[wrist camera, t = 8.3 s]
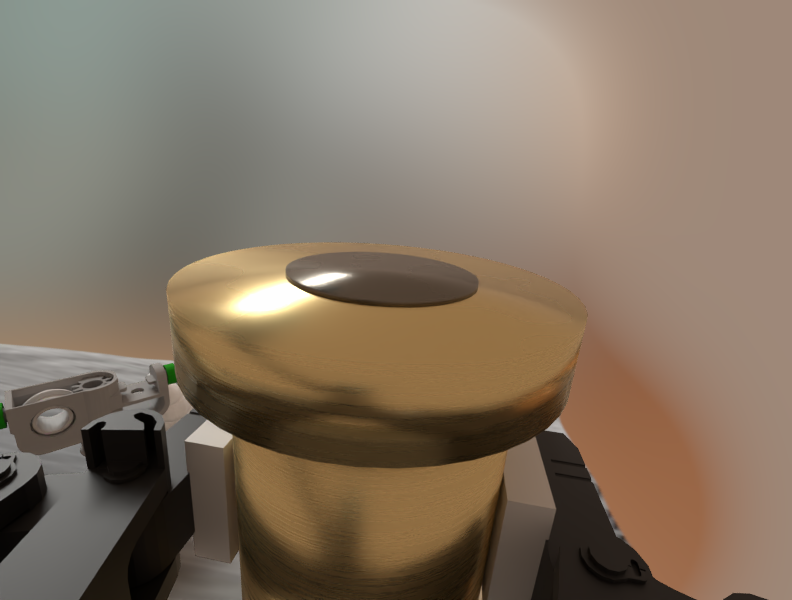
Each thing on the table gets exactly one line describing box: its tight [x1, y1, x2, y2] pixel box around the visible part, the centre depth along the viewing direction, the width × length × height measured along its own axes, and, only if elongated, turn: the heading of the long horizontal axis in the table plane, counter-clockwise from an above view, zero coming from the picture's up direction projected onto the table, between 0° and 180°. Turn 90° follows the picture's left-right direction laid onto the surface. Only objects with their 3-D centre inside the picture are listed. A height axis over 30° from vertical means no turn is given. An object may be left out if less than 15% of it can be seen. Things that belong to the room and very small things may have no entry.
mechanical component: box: [0, 363, 177, 456], centre depth 29 cm, size 3×10×10 cm, turn 133°
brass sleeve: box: [166, 243, 588, 600], centre depth 8 cm, size 6×6×12 cm
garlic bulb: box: [148, 373, 193, 431], centre depth 38 cm, size 6×6×5 cm
